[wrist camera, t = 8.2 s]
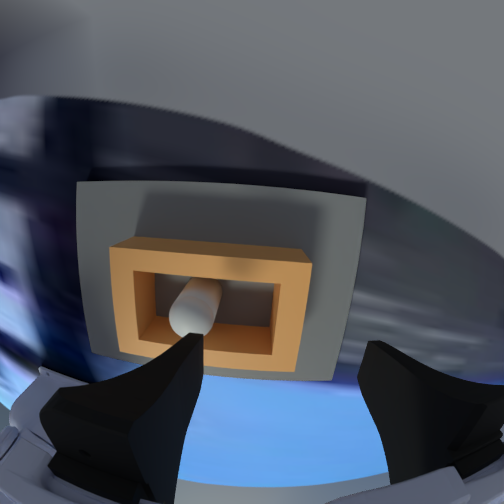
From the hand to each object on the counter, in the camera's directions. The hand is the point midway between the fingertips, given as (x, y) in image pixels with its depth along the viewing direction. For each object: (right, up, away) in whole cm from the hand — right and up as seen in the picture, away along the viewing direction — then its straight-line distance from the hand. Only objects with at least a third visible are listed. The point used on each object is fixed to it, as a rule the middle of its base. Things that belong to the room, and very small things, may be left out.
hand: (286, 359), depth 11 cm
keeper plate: (-5, +2, +8) cm, 10 cm away
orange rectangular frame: (-4, +2, +7) cm, 8 cm away
